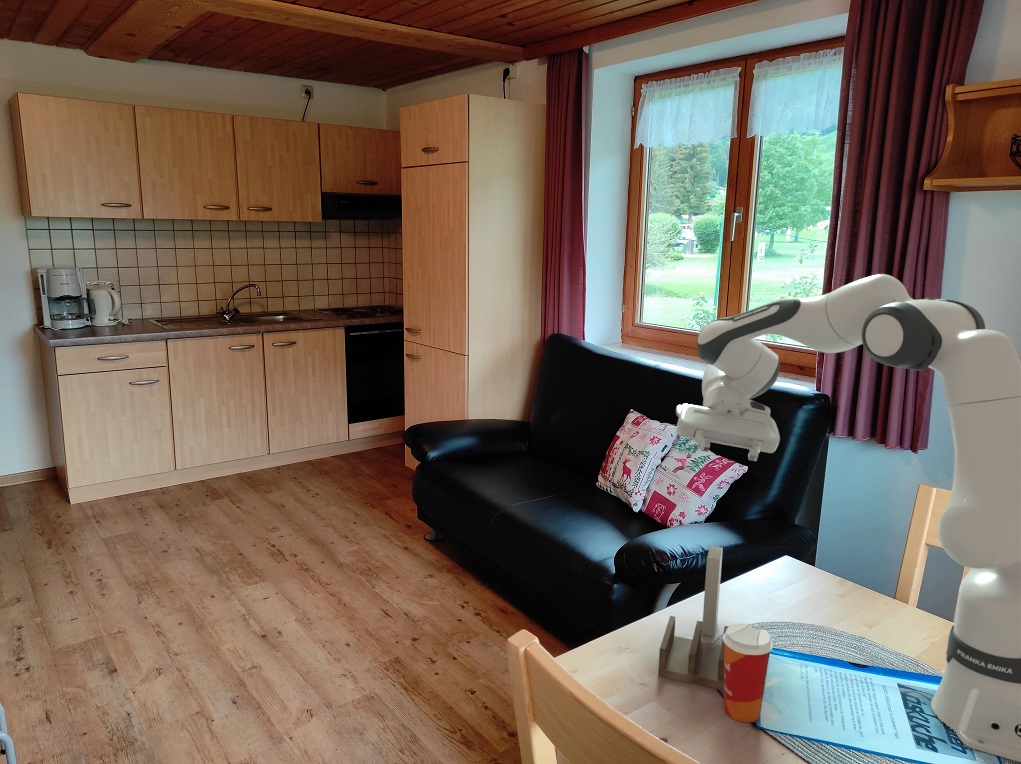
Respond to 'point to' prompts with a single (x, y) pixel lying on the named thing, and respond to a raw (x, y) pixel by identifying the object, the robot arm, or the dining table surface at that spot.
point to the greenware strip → (712, 590)
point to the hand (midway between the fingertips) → (729, 453)
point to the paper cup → (745, 671)
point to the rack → (691, 658)
